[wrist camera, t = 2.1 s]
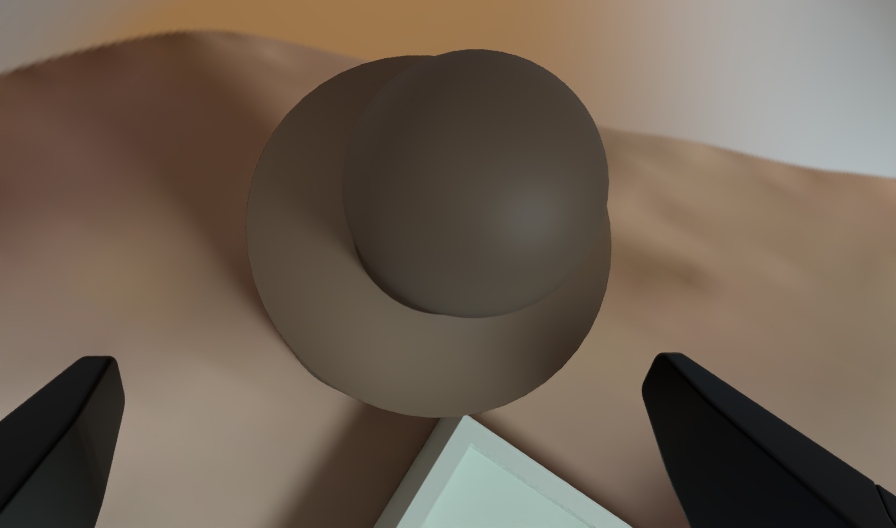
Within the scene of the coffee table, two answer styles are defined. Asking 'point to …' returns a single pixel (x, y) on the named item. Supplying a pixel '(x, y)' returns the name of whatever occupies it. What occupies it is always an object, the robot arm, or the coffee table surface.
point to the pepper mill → (433, 230)
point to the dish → (485, 487)
